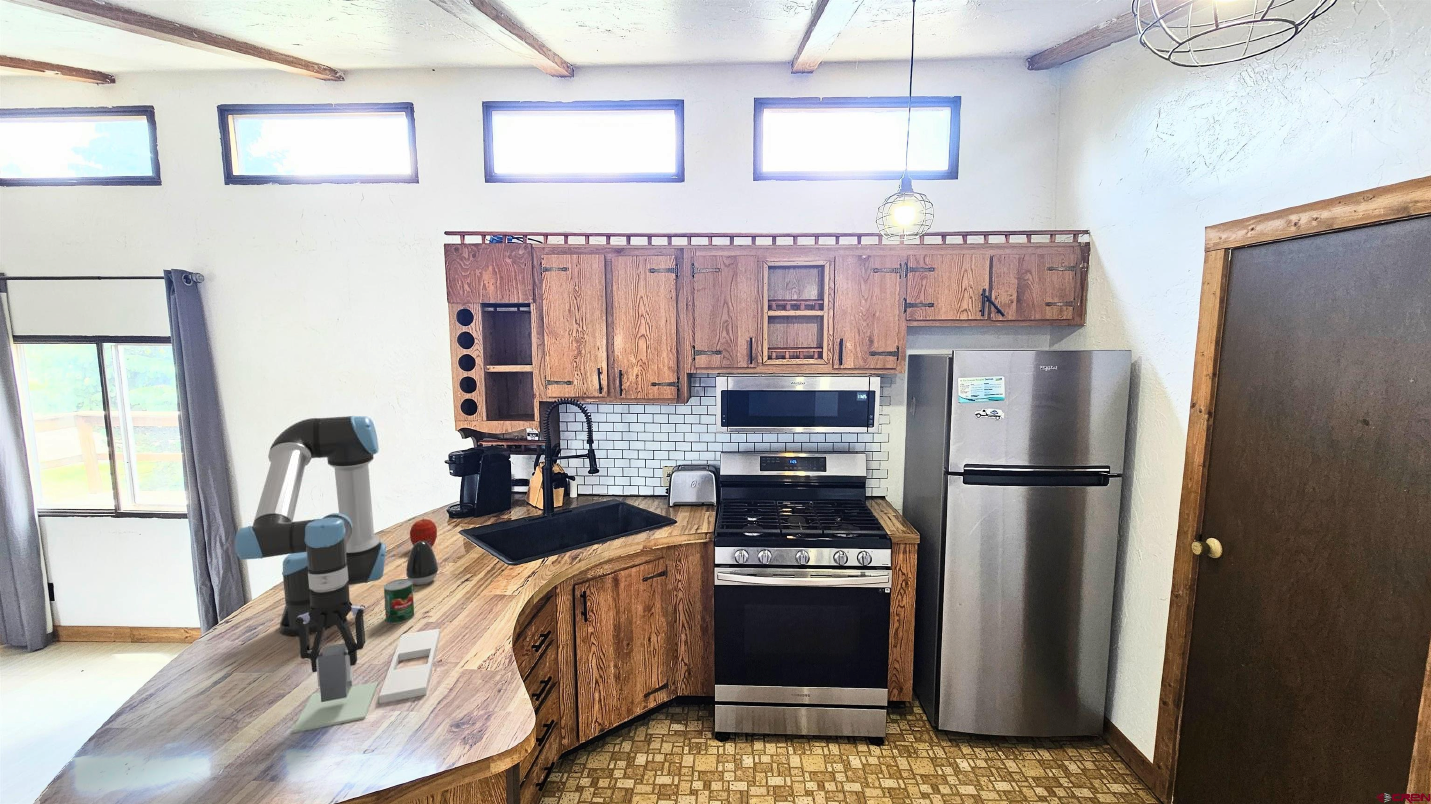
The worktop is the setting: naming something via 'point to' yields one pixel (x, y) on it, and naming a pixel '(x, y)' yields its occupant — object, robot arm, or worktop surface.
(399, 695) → the rail
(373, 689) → the pad
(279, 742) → the worktop surface
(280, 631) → the robot arm
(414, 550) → the black rounded cone
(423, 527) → the apple
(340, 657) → the square block
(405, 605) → the canned tomato
